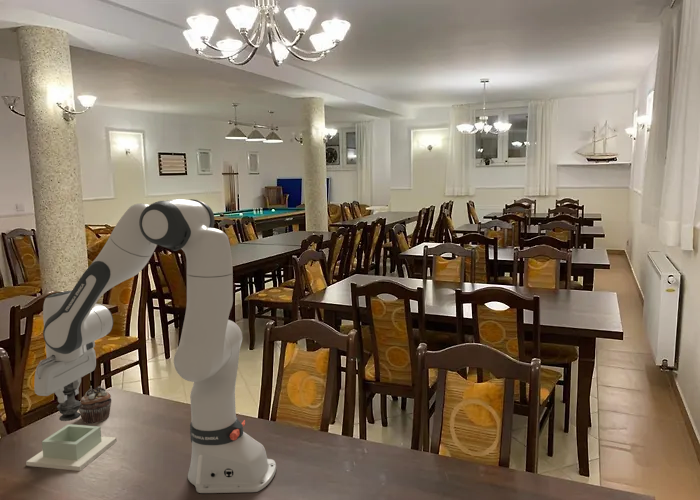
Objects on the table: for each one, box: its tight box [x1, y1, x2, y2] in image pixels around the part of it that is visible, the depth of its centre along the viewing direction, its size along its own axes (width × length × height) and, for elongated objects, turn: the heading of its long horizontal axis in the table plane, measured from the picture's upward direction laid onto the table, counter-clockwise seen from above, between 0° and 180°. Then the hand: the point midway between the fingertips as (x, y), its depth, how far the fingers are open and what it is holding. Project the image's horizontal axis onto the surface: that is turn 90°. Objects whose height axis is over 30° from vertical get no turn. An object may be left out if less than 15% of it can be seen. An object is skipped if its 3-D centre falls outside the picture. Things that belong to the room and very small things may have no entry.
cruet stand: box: [25, 423, 117, 472], centre depth 149 cm, size 16×16×6 cm
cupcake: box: [78, 385, 112, 425], centre depth 171 cm, size 10×10×10 cm
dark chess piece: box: [56, 382, 81, 422], centre depth 148 cm, size 6×6×12 cm
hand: (68, 398), depth 148 cm, fingers closed on dark chess piece, 3 cm apart
